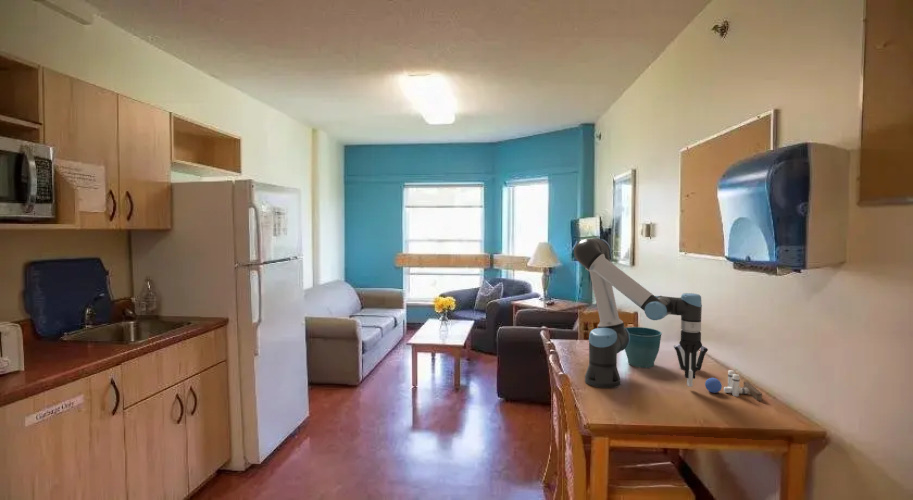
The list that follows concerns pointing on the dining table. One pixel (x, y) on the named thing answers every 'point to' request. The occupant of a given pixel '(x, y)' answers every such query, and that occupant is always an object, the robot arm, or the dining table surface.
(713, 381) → the ball
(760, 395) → the wall
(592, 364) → the robot arm
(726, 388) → the front pin
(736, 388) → the pin
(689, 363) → the beverage can
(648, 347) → the flower pot
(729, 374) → the pin
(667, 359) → the dining table surface
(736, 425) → the dining table surface
